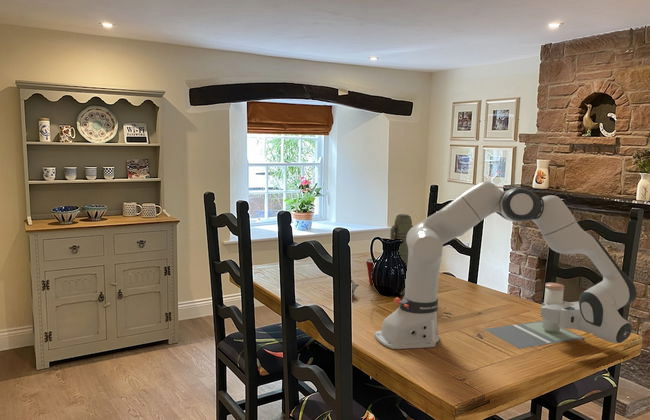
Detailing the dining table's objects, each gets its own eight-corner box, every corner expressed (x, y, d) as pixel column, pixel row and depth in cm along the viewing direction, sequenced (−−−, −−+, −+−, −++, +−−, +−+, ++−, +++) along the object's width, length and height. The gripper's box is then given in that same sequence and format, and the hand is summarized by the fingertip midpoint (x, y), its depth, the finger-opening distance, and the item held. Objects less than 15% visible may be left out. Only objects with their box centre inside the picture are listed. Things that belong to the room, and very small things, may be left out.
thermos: (416, 292, 231) (420, 215, 226) (396, 296, 224) (400, 217, 219) (403, 287, 238) (407, 212, 233) (383, 291, 232) (386, 214, 227)
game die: (350, 304, 223) (359, 291, 217) (332, 297, 223) (340, 283, 217) (354, 289, 230) (362, 276, 224) (336, 282, 230) (344, 268, 223)
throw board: (518, 351, 170) (519, 348, 170) (483, 331, 186) (483, 328, 186) (584, 340, 180) (584, 337, 180) (545, 322, 197) (545, 320, 197)
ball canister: (550, 332, 182) (555, 288, 180) (537, 325, 188) (541, 283, 185) (564, 330, 184) (568, 286, 182) (550, 324, 190) (554, 282, 188)
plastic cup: (387, 281, 247) (388, 257, 245) (387, 288, 236) (388, 262, 235) (364, 280, 248) (365, 256, 246) (364, 286, 237) (364, 261, 236)
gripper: (606, 304, 176) (573, 292, 189) (560, 310, 169) (530, 297, 181) (604, 322, 177) (571, 309, 190) (559, 328, 170) (528, 314, 182)
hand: (551, 303), depth 186 cm, fingers closed on ball canister, 6 cm apart
